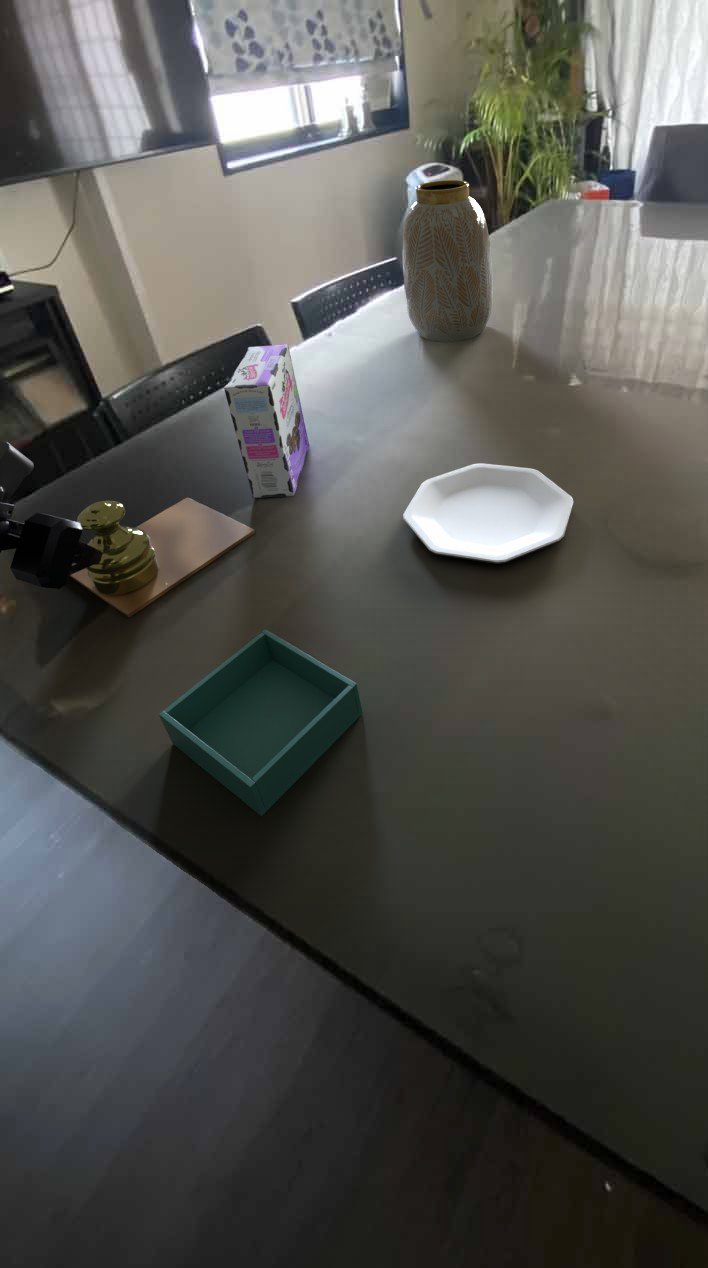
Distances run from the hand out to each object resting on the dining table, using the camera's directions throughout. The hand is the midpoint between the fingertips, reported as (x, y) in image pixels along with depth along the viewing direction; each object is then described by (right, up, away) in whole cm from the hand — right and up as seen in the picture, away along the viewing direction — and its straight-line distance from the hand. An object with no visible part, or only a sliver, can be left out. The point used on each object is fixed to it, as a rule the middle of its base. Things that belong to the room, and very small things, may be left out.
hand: (68, 547), depth 71 cm
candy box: (+17, +9, +26) cm, 32 cm away
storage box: (+24, -15, -11) cm, 30 cm away
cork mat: (+5, -1, +12) cm, 13 cm away
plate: (+45, +3, +13) cm, 47 cm away
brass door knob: (+3, -4, +8) cm, 9 cm away
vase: (+42, +40, +67) cm, 89 cm away
